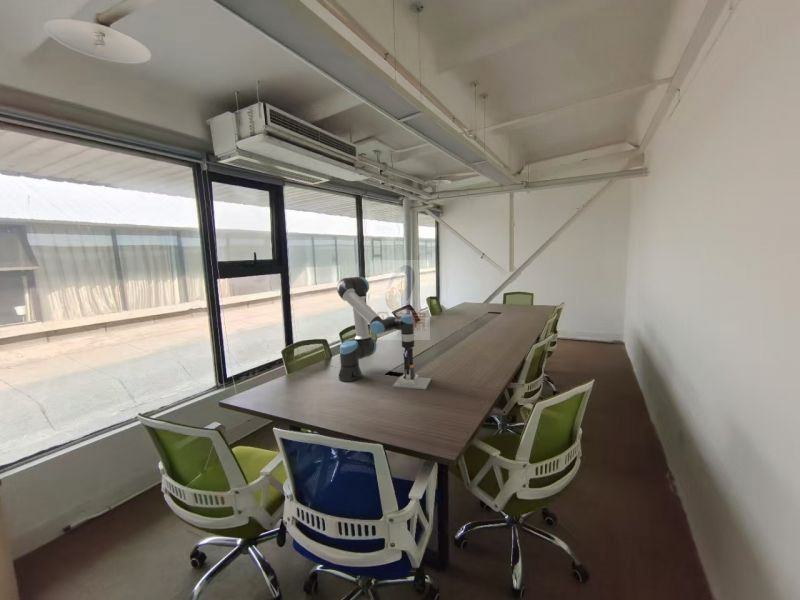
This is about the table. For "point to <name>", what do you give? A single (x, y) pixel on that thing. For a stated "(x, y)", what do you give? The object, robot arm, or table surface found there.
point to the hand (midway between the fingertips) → (409, 378)
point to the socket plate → (412, 382)
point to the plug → (410, 371)
